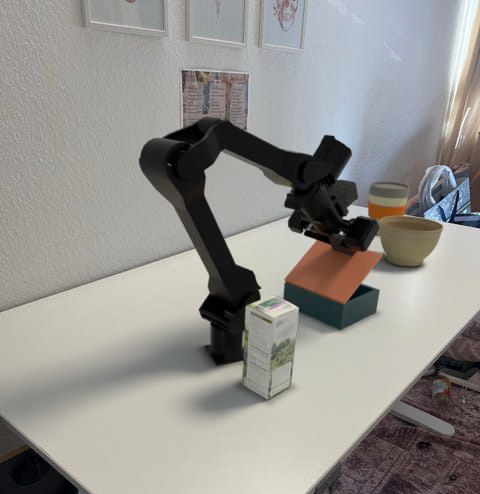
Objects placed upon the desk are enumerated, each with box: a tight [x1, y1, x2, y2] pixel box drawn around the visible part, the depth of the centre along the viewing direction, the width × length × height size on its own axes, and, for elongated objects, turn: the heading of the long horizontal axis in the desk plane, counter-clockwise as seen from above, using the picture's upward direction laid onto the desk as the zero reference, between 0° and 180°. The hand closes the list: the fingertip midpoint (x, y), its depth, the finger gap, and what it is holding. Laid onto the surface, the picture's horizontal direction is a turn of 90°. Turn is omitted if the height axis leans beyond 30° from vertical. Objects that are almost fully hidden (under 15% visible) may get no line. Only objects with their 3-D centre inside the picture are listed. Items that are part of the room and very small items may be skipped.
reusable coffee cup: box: [367, 181, 411, 236], centre depth 155 cm, size 13×12×15 cm
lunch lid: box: [283, 233, 383, 305], centre depth 97 cm, size 13×16×5 cm
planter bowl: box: [379, 215, 445, 267], centre depth 130 cm, size 16×16×11 cm
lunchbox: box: [282, 281, 381, 331], centre depth 102 cm, size 13×16×5 cm
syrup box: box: [241, 295, 300, 400], centre depth 74 cm, size 6×6×14 cm
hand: (346, 247), depth 100 cm, fingers closed on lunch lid, 5 cm apart
